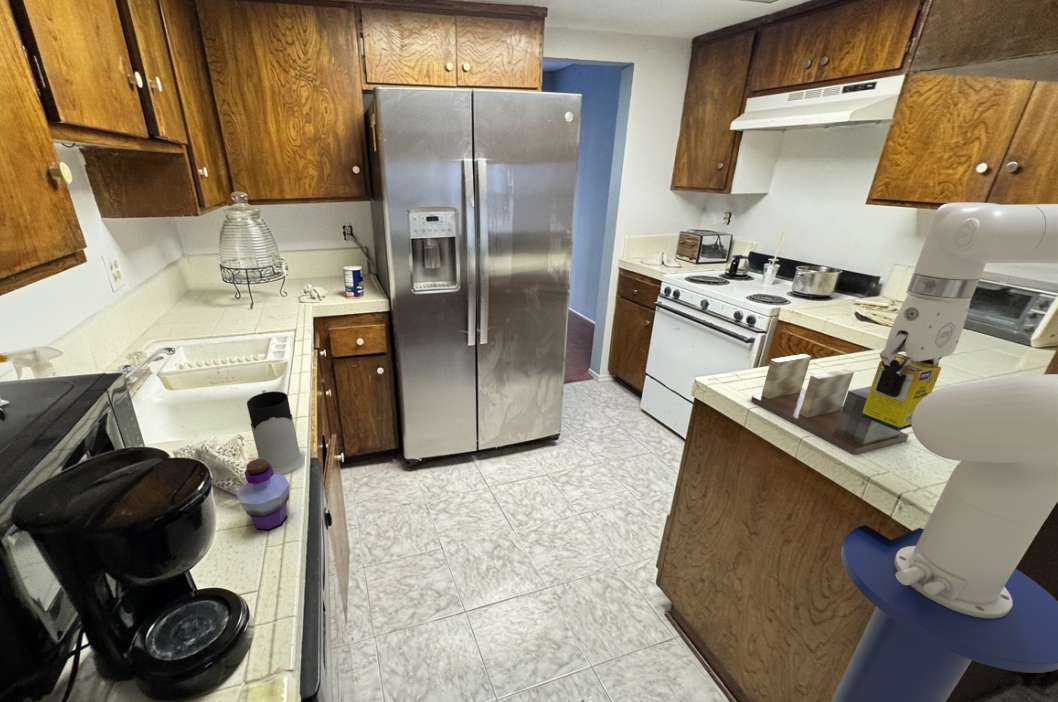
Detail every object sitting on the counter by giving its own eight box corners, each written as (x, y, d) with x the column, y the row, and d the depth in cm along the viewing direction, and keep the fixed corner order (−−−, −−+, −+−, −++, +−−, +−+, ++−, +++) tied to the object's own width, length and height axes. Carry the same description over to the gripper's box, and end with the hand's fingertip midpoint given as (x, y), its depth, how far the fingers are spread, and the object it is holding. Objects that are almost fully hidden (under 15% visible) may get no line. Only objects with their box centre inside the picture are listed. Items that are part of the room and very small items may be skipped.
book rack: (853, 454, 97) (872, 406, 93) (750, 401, 120) (761, 359, 115) (906, 440, 102) (926, 393, 97) (797, 391, 125) (809, 351, 120)
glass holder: (261, 480, 93) (245, 414, 86) (254, 446, 104) (239, 386, 98) (306, 467, 96) (294, 403, 90) (295, 436, 108) (283, 377, 102)
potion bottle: (298, 500, 87) (286, 445, 82) (294, 532, 79) (281, 473, 74) (248, 508, 85) (233, 453, 80) (239, 542, 77) (222, 483, 72)
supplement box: (919, 425, 81) (943, 366, 76) (897, 432, 79) (921, 372, 74) (880, 410, 86) (901, 355, 82) (859, 416, 84) (879, 360, 80)
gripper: (932, 297, 67) (889, 408, 74) (1007, 287, 72) (960, 392, 79) (876, 286, 74) (842, 389, 81) (948, 278, 79) (910, 375, 86)
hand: (900, 390), depth 80 cm, fingers closed on supplement box, 6 cm apart
